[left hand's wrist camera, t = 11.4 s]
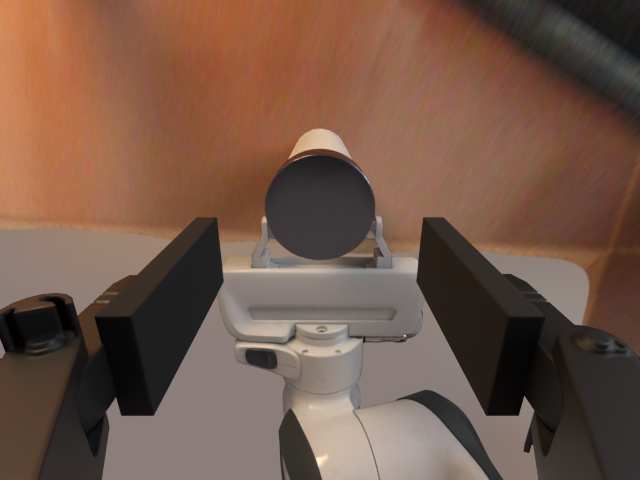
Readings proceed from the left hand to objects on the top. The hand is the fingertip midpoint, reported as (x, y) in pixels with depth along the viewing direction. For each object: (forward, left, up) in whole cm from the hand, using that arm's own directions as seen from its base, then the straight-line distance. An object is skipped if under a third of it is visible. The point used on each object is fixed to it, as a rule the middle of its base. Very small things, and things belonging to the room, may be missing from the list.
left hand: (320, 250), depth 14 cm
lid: (0, 0, -6) cm, 6 cm away
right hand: (+3, +3, -19) cm, 19 cm away
